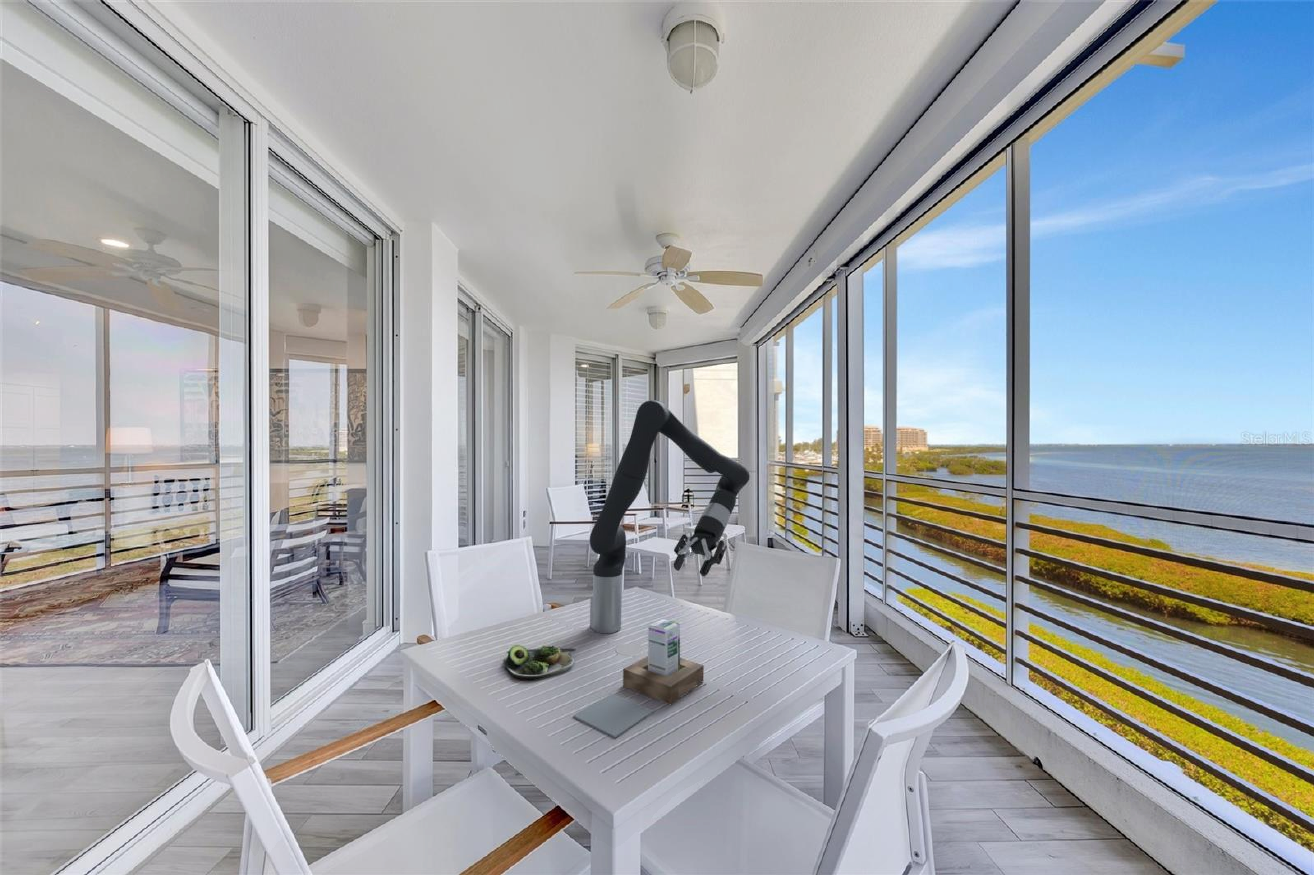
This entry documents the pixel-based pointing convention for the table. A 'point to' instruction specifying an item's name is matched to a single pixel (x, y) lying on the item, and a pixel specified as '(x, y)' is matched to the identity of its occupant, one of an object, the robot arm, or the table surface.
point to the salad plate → (536, 661)
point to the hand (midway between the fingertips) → (688, 571)
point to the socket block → (663, 680)
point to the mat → (613, 715)
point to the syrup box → (664, 647)
